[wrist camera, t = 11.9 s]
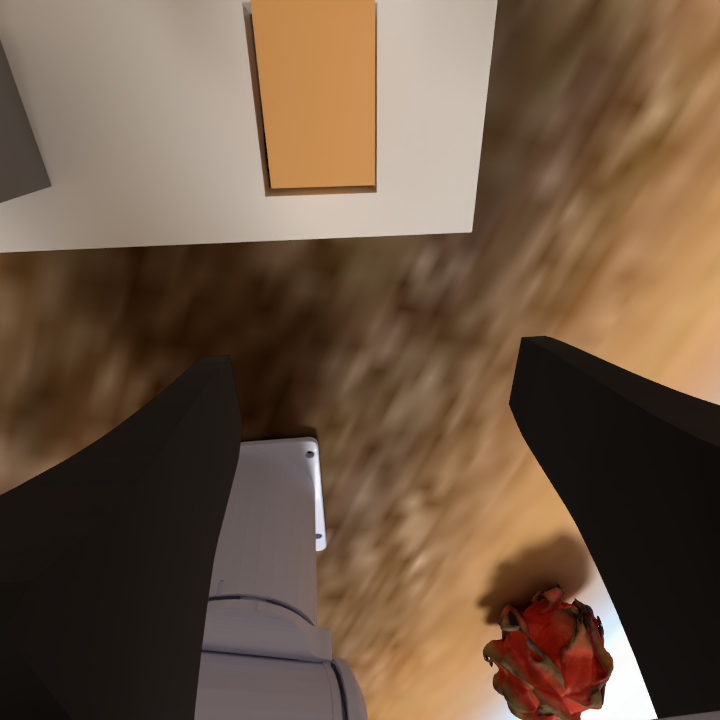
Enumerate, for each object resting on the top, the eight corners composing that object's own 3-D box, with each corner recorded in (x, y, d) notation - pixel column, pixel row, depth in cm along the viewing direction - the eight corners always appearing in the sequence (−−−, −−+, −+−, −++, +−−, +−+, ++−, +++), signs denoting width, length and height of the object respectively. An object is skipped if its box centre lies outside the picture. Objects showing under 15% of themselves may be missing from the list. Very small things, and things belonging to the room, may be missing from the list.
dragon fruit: (482, 632, 41) (528, 531, 37) (578, 691, 38) (640, 587, 33) (457, 715, 33) (512, 600, 29) (574, 797, 30) (654, 680, 26)
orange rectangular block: (356, 161, 18) (374, 185, 13) (282, 163, 18) (271, 188, 13) (353, 24, 16) (374, -14, 11) (269, 25, 16) (248, -14, 10)
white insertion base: (457, 220, 20) (510, 262, 14) (-70, 242, 18) (-224, 298, 13) (482, -49, 15) (572, -128, 10) (-222, -54, 13) (-557, -152, 8)
